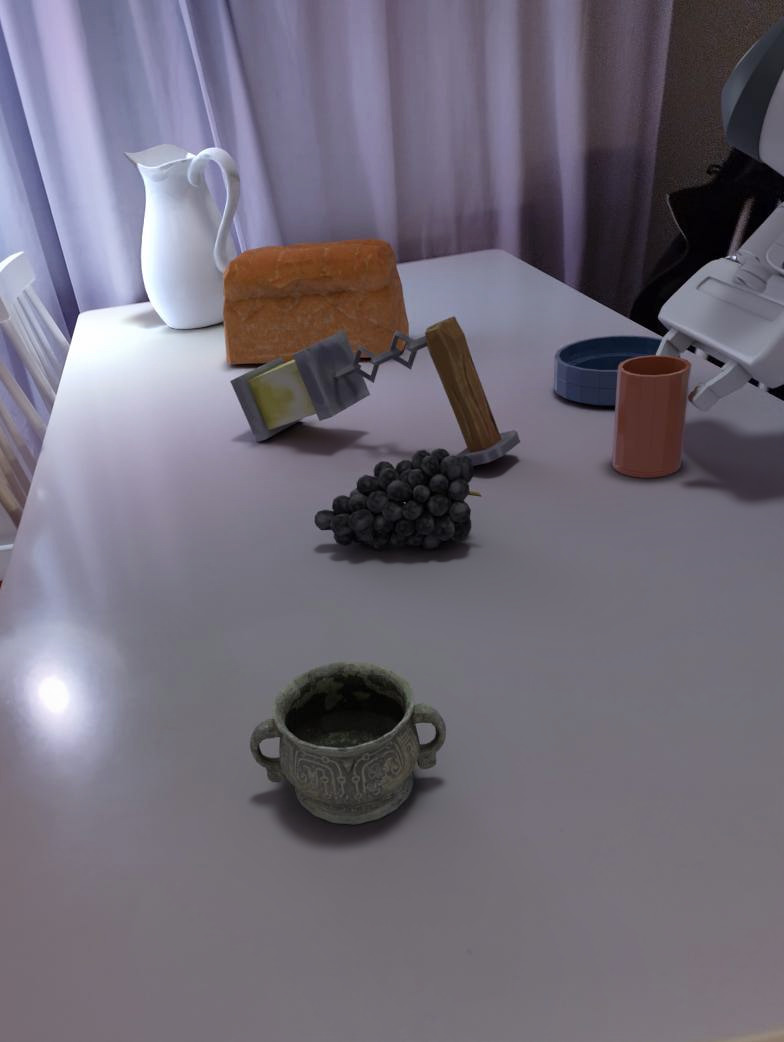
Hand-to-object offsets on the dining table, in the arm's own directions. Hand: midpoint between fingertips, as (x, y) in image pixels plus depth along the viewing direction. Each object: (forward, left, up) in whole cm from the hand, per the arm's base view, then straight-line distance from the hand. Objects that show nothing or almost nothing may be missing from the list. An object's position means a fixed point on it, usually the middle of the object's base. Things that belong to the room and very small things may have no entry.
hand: (672, 390), depth 89 cm
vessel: (+31, +45, -8) cm, 55 cm away
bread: (+37, -53, -8) cm, 65 cm away
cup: (+2, 0, -7) cm, 8 cm away
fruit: (+27, +12, -8) cm, 30 cm away
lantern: (+29, -12, -8) cm, 32 cm away
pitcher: (+57, -78, -8) cm, 97 cm away
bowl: (0, -23, -7) cm, 24 cm away
